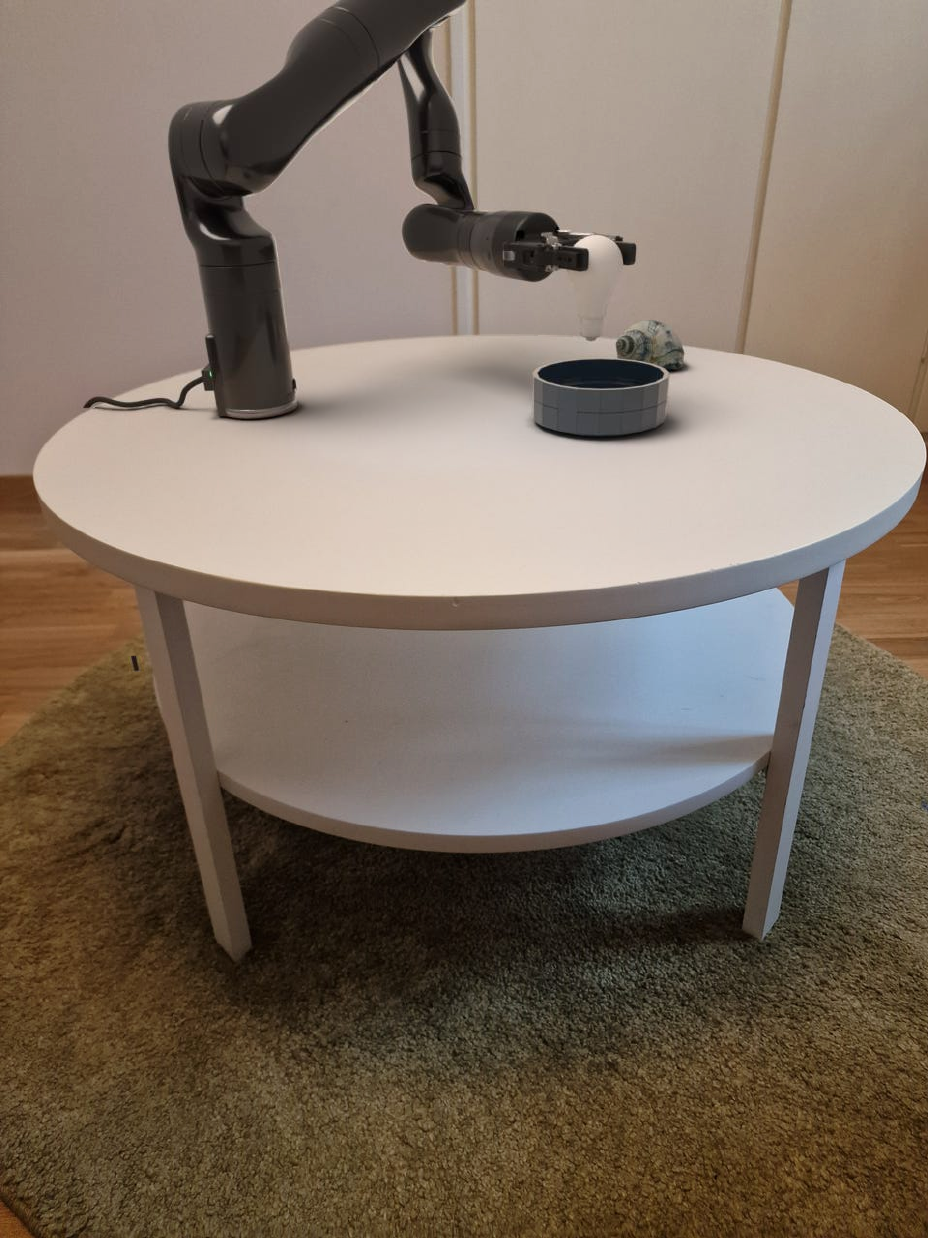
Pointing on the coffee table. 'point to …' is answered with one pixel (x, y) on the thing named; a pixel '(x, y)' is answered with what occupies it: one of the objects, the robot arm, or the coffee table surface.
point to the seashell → (651, 345)
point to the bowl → (599, 396)
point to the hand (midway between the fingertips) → (610, 257)
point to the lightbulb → (596, 283)
